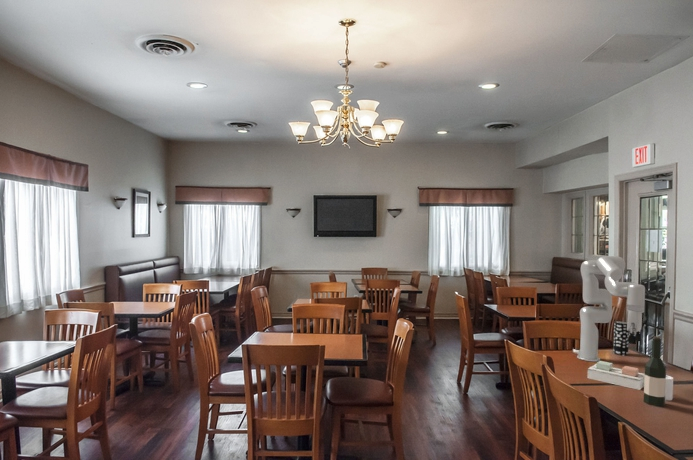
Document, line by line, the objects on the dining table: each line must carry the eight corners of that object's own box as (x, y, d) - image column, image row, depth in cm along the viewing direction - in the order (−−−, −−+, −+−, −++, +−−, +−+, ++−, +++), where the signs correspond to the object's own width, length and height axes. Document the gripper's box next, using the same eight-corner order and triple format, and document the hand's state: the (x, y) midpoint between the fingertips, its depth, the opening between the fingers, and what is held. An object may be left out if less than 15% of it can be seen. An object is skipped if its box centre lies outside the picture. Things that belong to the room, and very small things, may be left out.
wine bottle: (662, 401, 221) (664, 336, 221) (667, 407, 213) (670, 339, 213) (641, 398, 224) (643, 334, 223) (645, 404, 216) (648, 337, 215)
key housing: (587, 378, 253) (587, 368, 253) (595, 372, 263) (596, 363, 263) (639, 390, 236) (640, 379, 236) (646, 383, 246) (646, 374, 246)
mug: (674, 401, 221) (675, 380, 221) (652, 398, 225) (653, 377, 224) (668, 393, 232) (669, 373, 232) (647, 390, 236) (648, 370, 236)
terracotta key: (621, 373, 245) (622, 368, 245) (625, 371, 250) (625, 365, 250) (635, 376, 241) (635, 370, 241) (638, 374, 245) (638, 368, 245)
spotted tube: (624, 352, 310) (625, 321, 310) (630, 356, 302) (631, 324, 302) (610, 351, 311) (611, 320, 311) (616, 355, 303) (617, 323, 302)
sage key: (596, 368, 253) (596, 362, 253) (599, 366, 258) (600, 360, 258) (608, 371, 249) (609, 365, 249) (612, 368, 254) (612, 363, 254)
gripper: (631, 306, 255) (630, 338, 255) (623, 309, 242) (621, 343, 242) (647, 308, 250) (646, 341, 250) (640, 311, 237) (639, 346, 237)
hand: (634, 342), depth 246 cm, fingers open, 9 cm apart
